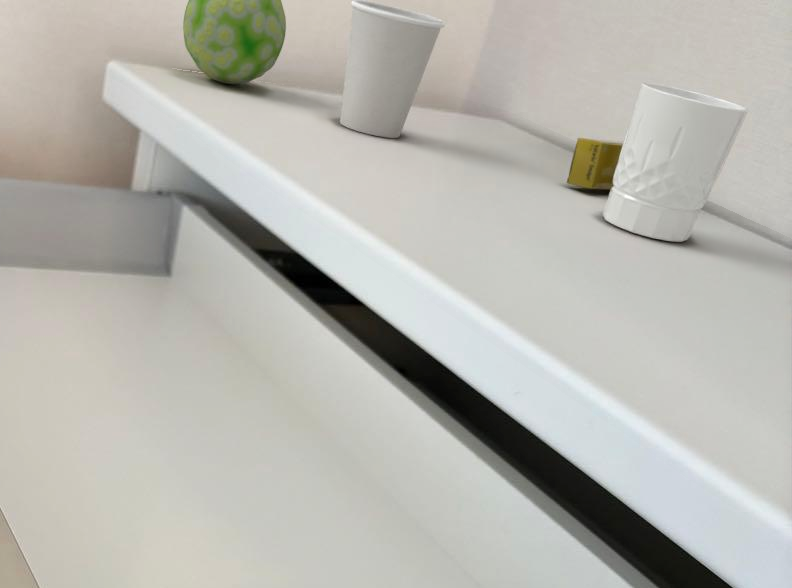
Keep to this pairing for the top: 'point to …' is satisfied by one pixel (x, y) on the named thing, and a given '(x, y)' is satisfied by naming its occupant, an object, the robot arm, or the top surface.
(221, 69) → the decorative ball
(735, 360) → the top surface
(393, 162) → the top surface
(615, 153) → the medication box
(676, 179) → the white cup
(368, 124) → the dixie cup
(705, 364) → the top surface
